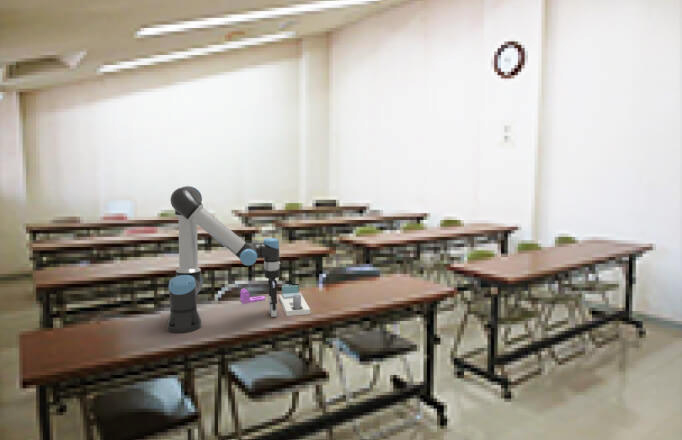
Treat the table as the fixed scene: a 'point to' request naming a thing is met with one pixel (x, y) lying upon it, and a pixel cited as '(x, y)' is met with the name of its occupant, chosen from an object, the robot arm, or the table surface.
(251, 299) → the bracket
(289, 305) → the housing
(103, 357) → the table surface
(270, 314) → the jaw pin
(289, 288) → the lid
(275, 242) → the robot arm
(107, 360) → the table surface
